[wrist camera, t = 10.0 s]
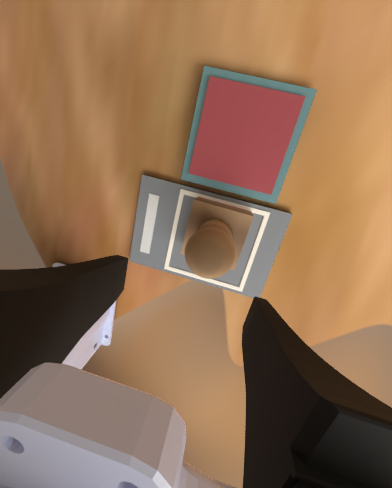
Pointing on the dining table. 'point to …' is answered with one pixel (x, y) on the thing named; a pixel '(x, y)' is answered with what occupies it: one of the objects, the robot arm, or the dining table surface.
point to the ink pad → (245, 133)
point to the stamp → (214, 237)
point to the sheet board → (174, 228)
